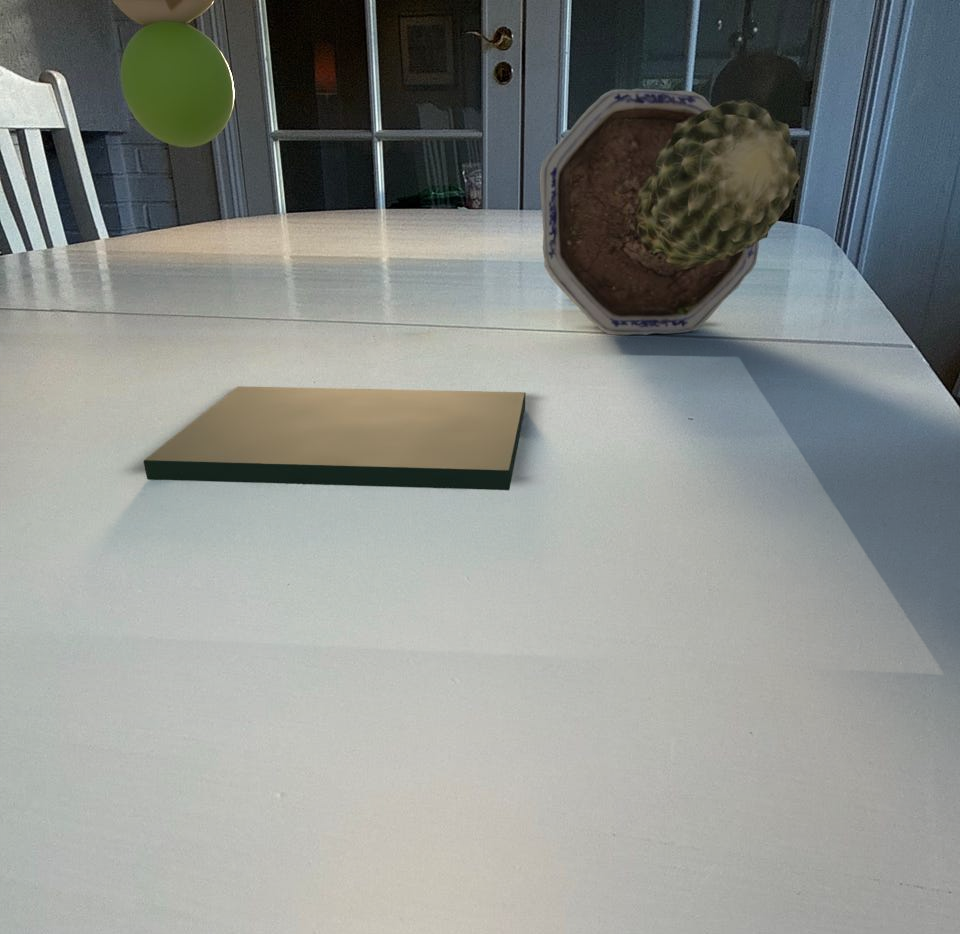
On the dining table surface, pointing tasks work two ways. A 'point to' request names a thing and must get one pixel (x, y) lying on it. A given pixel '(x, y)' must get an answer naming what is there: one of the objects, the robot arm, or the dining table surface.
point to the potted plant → (662, 206)
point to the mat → (349, 439)
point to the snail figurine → (175, 73)
